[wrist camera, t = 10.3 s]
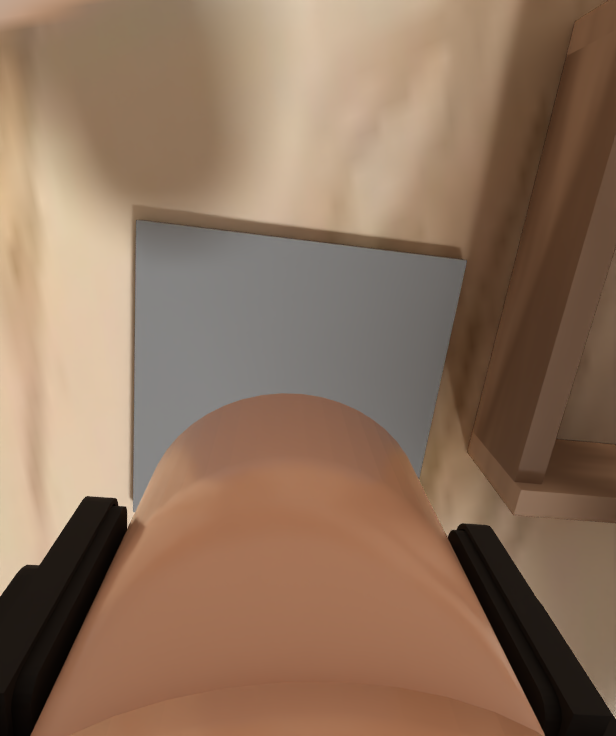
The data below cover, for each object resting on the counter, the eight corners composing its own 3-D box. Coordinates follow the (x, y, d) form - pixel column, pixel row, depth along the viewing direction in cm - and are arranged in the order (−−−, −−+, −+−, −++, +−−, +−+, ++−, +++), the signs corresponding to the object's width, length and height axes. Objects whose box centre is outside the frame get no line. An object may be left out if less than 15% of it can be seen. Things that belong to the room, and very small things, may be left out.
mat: (463, 259, 18) (466, 260, 18) (405, 526, 22) (407, 532, 22) (139, 219, 17) (136, 219, 17) (135, 506, 21) (133, 511, 21)
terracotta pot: (462, 396, 11) (901, 863, 3) (404, 642, 13) (577, 1262, 5) (133, 364, 10) (-313, 855, 2) (130, 629, 12) (-107, 1308, 5)
